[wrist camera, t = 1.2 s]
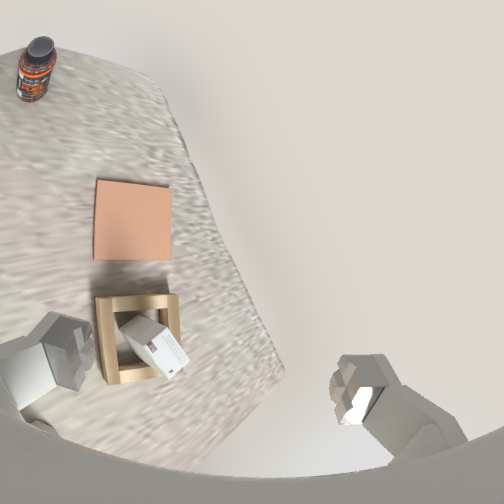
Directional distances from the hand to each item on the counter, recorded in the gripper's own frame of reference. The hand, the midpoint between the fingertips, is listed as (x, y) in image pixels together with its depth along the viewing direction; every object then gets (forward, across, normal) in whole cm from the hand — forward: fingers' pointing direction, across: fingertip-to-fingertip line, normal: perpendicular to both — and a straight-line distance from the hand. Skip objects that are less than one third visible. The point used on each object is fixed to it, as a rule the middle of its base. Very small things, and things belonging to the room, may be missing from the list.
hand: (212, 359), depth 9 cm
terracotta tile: (+36, +16, +8) cm, 40 cm away
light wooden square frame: (+29, +13, +24) cm, 40 cm away
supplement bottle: (+32, +36, -14) cm, 50 cm away
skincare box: (+29, +13, +24) cm, 40 cm away
